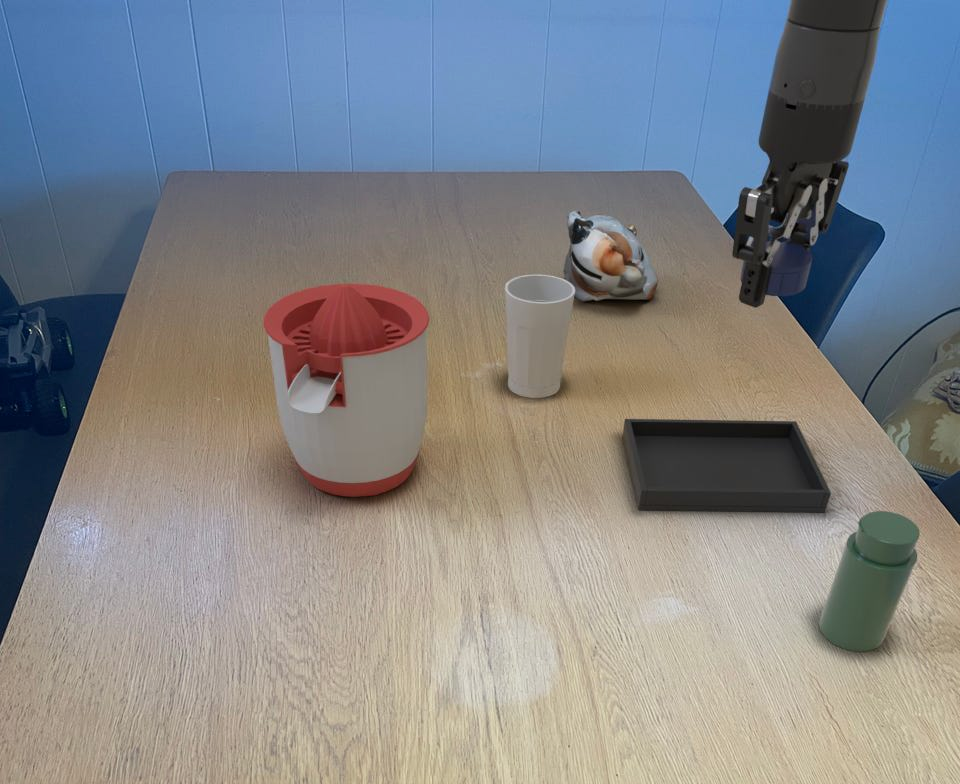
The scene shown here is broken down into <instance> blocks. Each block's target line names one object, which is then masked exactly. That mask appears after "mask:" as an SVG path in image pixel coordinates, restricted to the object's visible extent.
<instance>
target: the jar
mask: <svg viewBox="0 0 960 784" xmlns="http://www.w3.org/2000/svg"><path fill="white" fill-rule="evenodd" d="M857 525H858V527H857V530H856V531H854V532H853V533H851V534H850V535H849V536H848V537H847V539H846V542H845V545H844V548H843V551H842V554H841V557H840V560H839V562H838V566H837V569H836V571H835V573H834V577H833V580H832V583H831V585H830V588H829V591H828V595H827V598H826V601H825V603H824V606H823V609H822V612H821V615H820V618H819V621H818V628H819V631H820V633H821V634H822V635H823V636H824V638H825V639H826V640H827V641H828V642H830V643H831V644H833V645H834V646H837V647H839V648H841V649H844V650H847V651H851V652H860V653H861V652H863V653H864V652H870V651H873V650H876V649H878V648H879V647H880V646H881V645H882V644H883V643H884V641H885V638H886V636H887V633H888V631H889V629H890V627H891V623H892V621H893V619H894V616H895V615H896V612H897V609H898V606H899V605H900V602H901V600H902V597H903V595H904V593H905V590H906V587H907V585H908V583H909V580H910V577H911V575H912V573H913V570H914V569H915V565H916V563H917V561H918V551H917V550H916V546H917V543H918V541H919V538H920V536H921V533H920V532H921V531H920V529H919V527H918V526H917V524H916V523H915V522H914V521H912V520H911V519H910V518H909V517H907V516H904V515H903V514H899V513H896V512H892V511H888V510H887V511H885V510H876V511H871V512H868V513H866V514H865V515H862V517H860V518H859V520H858V523H857Z"/></svg>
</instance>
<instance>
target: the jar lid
mask: <svg viewBox="0 0 960 784" xmlns="http://www.w3.org/2000/svg"><path fill="white" fill-rule="evenodd" d="M769 242H770V240H769V241H768V240H767V243H766V249H767V247H768V244H769ZM765 251H766V250H765ZM812 261H813V256H812V254H811V252H810V251H807V250H806V249H804V248H802V247H800V246H798V245H795V244H791V243H786V241H783V242H781V244H780V246H779V249H778V251H777V253H776V256H775V258H774V260H773V262H772V264H771V265H772V270H771V274H770V279H769V283H768V287H767V292H766V296H769V297H789V296H793V295H794V296H795V295H797V294H799V293H802V291H804V290H805V289H806V287H807V284H808V283H807V282H808V279H809V275H810V270H811V266H812ZM745 266H746V262H745V261H744V260H743V262H742V268H741V273H740V283H742V280H743V275H744V270H745Z"/></svg>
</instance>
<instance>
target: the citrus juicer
mask: <svg viewBox="0 0 960 784" xmlns="http://www.w3.org/2000/svg"><path fill="white" fill-rule="evenodd" d="M429 323H430V315H429V311H428V310H427V308H426V307H425V306H424V304H423V303H422V302H421V301H420V300H418V298H416V297H414V296H412V295H410V294H408V293H405V292H404V291H401V290H397V289H396V288H391V287H386V286H382V285H376V284H367V283H334V284H326V285H320V286H313V287H309V288H305V289H302V290H299V291H295V292H293V293H290V294H288V295H286V296H284V297H281V298H280V299H279V300H278V301H276V302H274V303H273V304H272V305H271V306H270V307H269V308H268V309H267V311H266V313H265V315H264V317H263V328H264V330H265V333H266V334H267V338H268V345H269V352H270V360H271V368H272V375H273V383H274V390H275V391H274V392H275V398H276V405H277V410H278V415H279V419H280V420H279V421H280V424H281V427H282V430H283V432H284V435H285V439H286V442H287V444H288V446H289V449H290V452H291V453H292V456H293V459H294V461H295V464H296V466H297V467H298V469H299V470H300V472H301V474H302V475H303V476H304V478H305V479H306V480H307V482H309V483H310V484H311V485H312V486H313V487H314V488H316V489H318V490H320V491H322V492H325V493H328V494H332V495H335V496H340V497H341V496H342V497H352V498H353V497H354V498H355V497H356V498H357V497H368V496H371V497H372V496H373V497H374V496H379V494H383V493H385V492H388V491H391V490H392V489H395V488H397V487H398V486H400V485H402V484H403V483H404V482H405V481H406V480H407V479H408V478H409V476H410V475H411V473H412V471H413V470H414V467H415V465H416V463H417V460H418V458H419V455H420V451H421V445H422V442H423V438H424V433H425V428H426V422H427V415H428V402H429V401H428V399H429V398H428V395H429V394H428V391H429V390H428V389H429V388H428V342H427V341H428V339H427V337H428V336H427V334H428V333H427V332H428V331H427V328H428V327H429Z"/></svg>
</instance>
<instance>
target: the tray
mask: <svg viewBox="0 0 960 784" xmlns="http://www.w3.org/2000/svg"><path fill="white" fill-rule="evenodd" d="M621 437H622V442H623V446H624V447H623V448H624V451H625V455H626V456H625V457H626V460H627V466H628V469H629V473H630V479H631V482H632V487H633V492H634V496H635V500H636V501H635V502H636V505H637V510H638V511H681V512H682V511H683V512H684V511H685V512H686V511H689V512H698V511H699V512H700V511H701V512H759V513H760V512H762V513H763V512H764V513H765V512H766V513H767V512H768V513H769V512H771V513H772V512H773V513H775V512H776V513H826V510H827V507H828V504H829V502H830V498H831V495H832V492H831V490H830V488H829V486H828V484H827V482H826V480H825V477H824V476H823V474H822V472H821V469H820V467H819V465H818V462H817V461H816V459H815V457H814V454H813V453H812V451H811V449H810V446H809V445H808V443H807V440H806V438H805V436H804V434H803V433H802V430H801V428H800V426H799V424H798V422H797V421H796V420H792V421H791V420H738V419H737V420H734V419H732V420H731V419H730V420H729V419H727V420H726V419H673V418H672V419H670V418H669V419H667V418H666V419H665V418H663V419H662V418H624V422H623V430H622V436H621Z"/></svg>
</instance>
